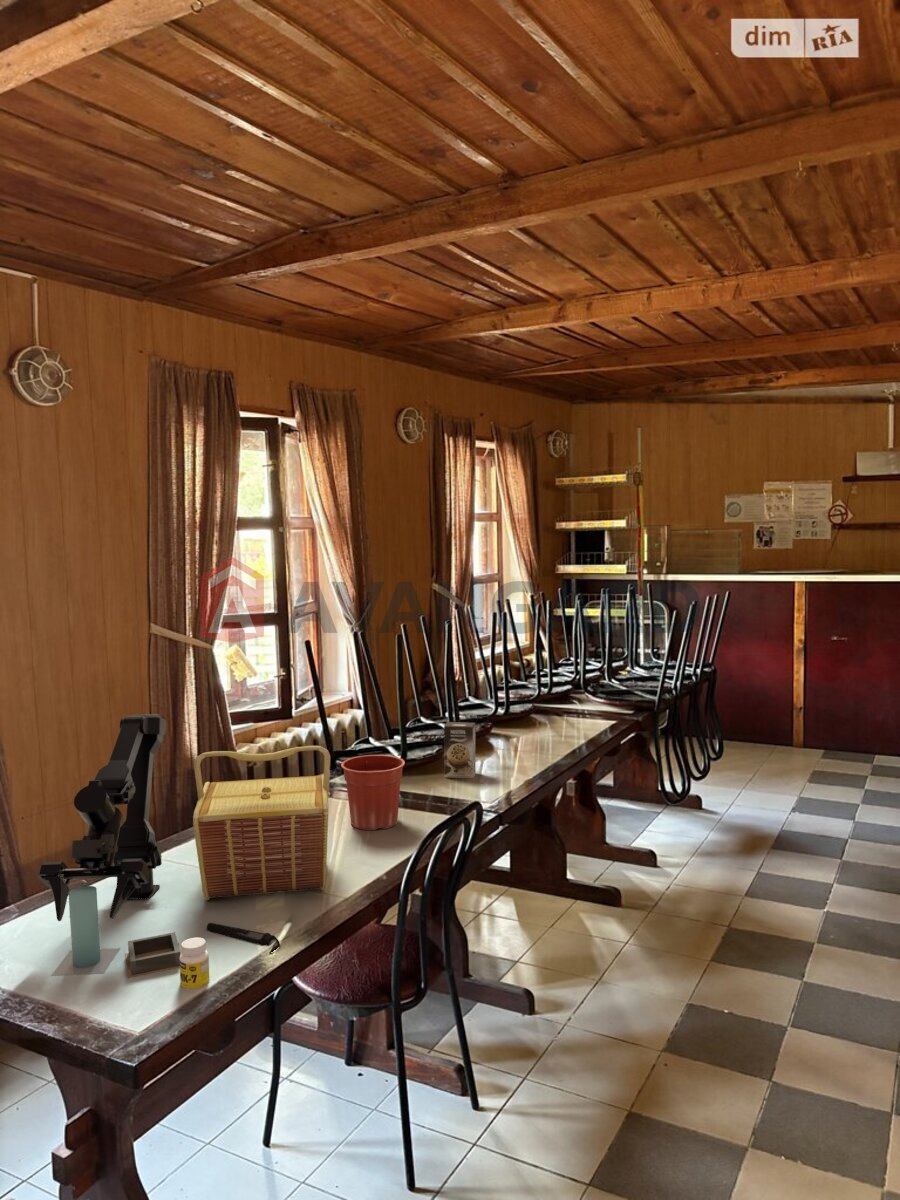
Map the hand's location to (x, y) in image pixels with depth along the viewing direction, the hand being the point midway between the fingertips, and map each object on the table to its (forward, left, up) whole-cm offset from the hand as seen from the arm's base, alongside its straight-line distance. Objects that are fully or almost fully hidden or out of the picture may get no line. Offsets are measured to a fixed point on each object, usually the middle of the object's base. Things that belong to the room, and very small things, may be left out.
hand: (85, 919), depth 158 cm
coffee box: (-119, +60, -9) cm, 134 cm away
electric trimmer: (-10, +25, -10) cm, 29 cm away
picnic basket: (-38, +22, -9) cm, 45 cm away
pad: (+1, 0, -9) cm, 9 cm away
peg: (+1, 0, -8) cm, 8 cm away
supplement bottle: (+7, +22, -9) cm, 25 cm away
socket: (0, +12, -9) cm, 15 cm away
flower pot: (-76, +40, -9) cm, 87 cm away
